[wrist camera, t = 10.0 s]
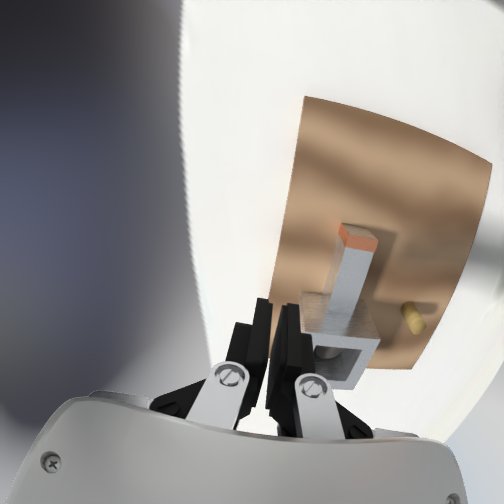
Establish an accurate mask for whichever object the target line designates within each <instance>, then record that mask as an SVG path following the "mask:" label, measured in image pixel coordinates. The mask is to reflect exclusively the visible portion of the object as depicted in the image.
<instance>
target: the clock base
mask: <svg viewBox="0 0 504 504" xmlns="http://www.w3.org/2000/svg"><path fill="white" fill-rule="evenodd" d="M491 168H492V163H490V162H488V161H486V160H485V159H483V158H481V157H479V156H477V155H475V154H474V153H472V152H470V151H468V150H466V149H464V148H462V147H460V146H458V145H456V144H454V143H451V142H449V141H447V140H445V139H443V138H440V137H438V136H436V135H433V134H431V133H429V132H426V131H424V130H421V129H419V128H416V127H414V126H411V125H408V124H406V123H403V122H400V121H397V120H394V119H392V118H389V117H386V116H382V115H379V114H376V113H373V112H370V111H366V110H363V109H359V108H356V107H352V106H348V105H344V104H340V103H336V102H332V101H327V100H323V99H318V98H313V97H308V96H305V97H304V100H303V107H302V114H301V120H300V126H299V133H298V139H297V145H296V151H295V157H294V163H293V169H292V175H291V181H290V186H289V192H288V198H287V203H286V209H285V214H284V220H283V225H282V231H281V236H280V241H279V247H278V252H277V257H276V262H275V267H274V272H273V278H272V283H271V288H270V292H269V297H268V299H269V303H273V311H272V323H271V334H270V346H269V356H268V358H270V353H271V347H272V344H273V340H274V336H275V332H276V328H277V324H278V320H279V316H280V311H281V307H282V305H287V303H293V304H298V302H299V298H300V294H301V291H306V292H313V293H319V294H322V292H323V289H324V286H325V282H326V279H327V275H328V272H329V268H330V265H331V261H332V257H333V253H334V250H335V246H336V242H337V238H338V232H339V228H340V224H341V223H345V224H350V225H355V226H359V227H364V228H368V229H369V230H370V232H371V233H372V234H373V235H374V236H375V237H376V238H377V240H378V244H377V248H376V251H375V253H374V254H373V257H372V260H371V263H370V266H369V269H368V272H367V275H366V278H365V281H364V284H363V287H362V290H361V293H360V295H359V298H358V299H360V300H364V301H365V303H366V305H367V307H368V310H369V312H370V315H371V317H372V319H373V322H374V324H375V327H376V329H377V331H378V334H379V336H380V339H381V340H380V342H379V344H378V346H377V348H376V350H375V352H374V354H373V356H372V358H371V359H370V361H369V363H368V365H367V367H366V368H372V369H412V367H413V366H414V364H415V363H416V361H417V360H418V358H419V356H420V355H421V353H422V351H423V350H424V348H425V346H426V345H427V343H428V341H429V339H430V338H431V336H432V334H433V332H434V330H435V329H436V327H437V325H438V323H439V321H440V319H441V317H442V315H443V313H444V311H445V309H446V307H447V305H448V303H449V301H450V299H451V296H452V294H453V292H454V290H455V288H456V285H457V283H458V281H459V278H460V276H461V273H462V271H463V268H464V266H465V263H466V260H467V258H468V255H469V252H470V249H471V246H472V243H473V240H474V237H475V234H476V231H477V228H478V224H479V221H480V217H481V214H482V210H483V206H484V202H485V198H486V194H487V189H488V184H489V179H490V174H491ZM315 347H316V353H317V355H318V356H319V357H321V358H324V359H330V358H334V357H336V356H337V355H339V354H340V353H341V351H342V348H338V347H328V346H320V345H316V346H315Z"/></svg>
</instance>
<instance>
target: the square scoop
mask: <svg viewBox="0 0 504 504" xmlns="http://www.w3.org/2000/svg"><path fill="white" fill-rule="evenodd" d="M377 244H378V240H377V238H376V237H375V236H374V235H373V234H372V233H371V232H370V230H369V229H368V228H364V227H359V226H355V225H350V224H345V223H341V224H340V228H339V232H338V238H337V242H336V246H335V250H334V253H333V257H332V261H331V265H330V268H329V272H328V275H327V279H326V282H325V286H324V289H323V292H322V294H319V293H313V292H306V291H301V294H300V298H299V302H298V304H299V308H300V324H301V333H307V334H311V335H312V342H313V352H314V363H315V374H317V375H320V376H322V377H324V378H325V379H326V380H327V381H328V382H329V383H330V385H331V388H332V389H342V390H353V389H354V387H355V386H356V384H357V382H358V381H359V379H360V377H361V375H362V374H363V372H364V370H365V368H366V367H367V365H368V363H369V361H370V359H371V358H372V356H373V354H374V352H375V350H376V348H377V346H378V344H379V342H380V340H381V339H380V336H379V334H378V331H377V329H376V327H375V324H374V322H373V319H372V317H371V315H370V312H369V310H368V307H367V305H366V303H365V301H364V300H360V299H358V298H359V295H360V293H361V290H362V287H363V284H364V281H365V278H366V275H367V272H368V269H369V266H370V263H371V260H372V257H373V254H374V253H375V251H376V248H377ZM316 345H320V346H328V347H338V348H342V351H341V353H340V354H339V355H337V356H336V357H334V358H330V359H324V358H321V357H319V356H318V355H317V353H316V347H315V346H316Z"/></svg>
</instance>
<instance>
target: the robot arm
mask: <svg viewBox="0 0 504 504" xmlns="http://www.w3.org/2000/svg"><path fill="white" fill-rule="evenodd" d="M272 311H273V303H269V299H263V298H257V303H256V308H255V314H254V319H253V325H250V324H244V323H239V322H236V323H235V327H234V330H233V334H232V338H231V342H230V345H229V349H228V353H227V357H226V360H225V362H221V363H218V364H216V365H215V366H214V367H213V368H212V369H211V371H210V373H209V375H208V377H207V378H206V379H204V380H202V381H199V382H197V383H194V384H191V385H189V386H186V387H184V388H181V389H178V390H176V391H173V392H170V393H167V394H164V395H162V396H159V397H157V398H155V399H147V396H139V395H131V394H124V393H117V392H111V391H105V390H98V391H94V392H92V393H91V394H90V395H89V396H88V397H77V398H73V399H70V400H68V401H67V402H65V403H64V404H63V405H62V406H60V407H59V408H58V409H57V410H56V411H55V413H54V414H53V415H52V416H51V417H50V419H49V420H48V421H47V423H46V424H45V426H44V427H43V429H42V430H41V432H40V433H39V435H38V436H37V438H36V439H35V441H34V443H33V445H32V446H31V448H30V450H29V452H28V454H27V455H26V457H25V459H24V461H23V463H22V465H21V467H20V469H19V471H18V473H17V475H16V477H15V479H14V482H13V484H12V487H11V489H10V491H9V493H8V496H7V498H6V501H5V504H468V502H467V496H466V491H465V487H464V483H463V479H462V475H461V472H460V469H459V466H458V463H457V461H456V459H455V456H454V454H453V452H452V451H451V449H450V448H449V447H448V446H446V445H445V444H444V443H441V442H439V441H436V440H432V439H428V438H420V437H418V436H417V435H415V434H412V433H405V432H398V431H391V430H385V429H380V428H375V429H374V430H372V429H371V428H370V427H369V426H368V425H367V424H366V423H364V422H363V421H362V420H360V419H359V418H358V417H356V416H355V415H354V414H352V413H351V412H350V411H348V410H347V409H346V408H344V407H343V406H342V405H340V404H339V403H338V402H337V401H335V399H334V395H333V392H332V388H331V385H330V383H329V382H328V381H327V380H326V379H325V378H324V377H322V376H320V375H317V374H315V363H314V352H313V342H312V335H311V334H307V333H301V324H300V308H299V304H293V303H287V305H282V307H281V311H280V316H279V320H278V324H277V328H276V332H275V336H274V340H273V344H272V347H271V353H270V364H269V375H268V385H267V396H266V406H265V409H269V410H270V412H269V416H271V417H272V418H273V419H274V420H275V421H276V422H278V424H277V433H278V436H271V435H263V434H255V433H249V432H242V431H237V428H238V425H239V422H240V419H242V418H244V417H246V416H247V415H249V414H250V412H251V408H252V407H256V403H257V400H258V397H259V393H260V389H261V386H262V382H263V379H264V375H265V371H266V368H267V363H268V356H269V346H270V334H271V323H272Z"/></svg>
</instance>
